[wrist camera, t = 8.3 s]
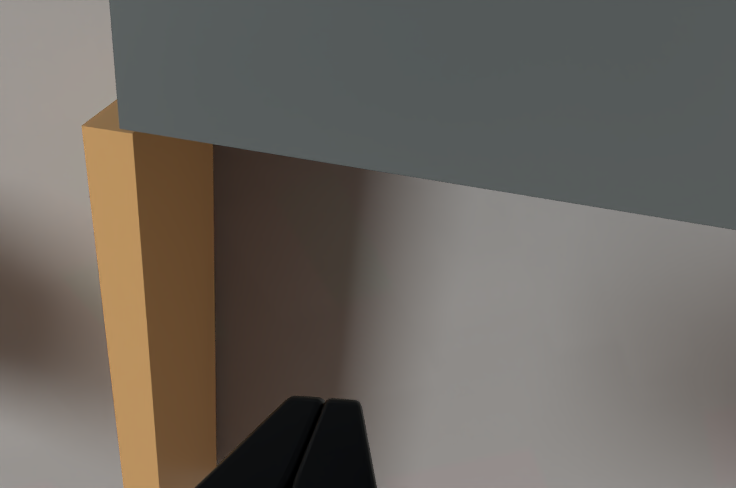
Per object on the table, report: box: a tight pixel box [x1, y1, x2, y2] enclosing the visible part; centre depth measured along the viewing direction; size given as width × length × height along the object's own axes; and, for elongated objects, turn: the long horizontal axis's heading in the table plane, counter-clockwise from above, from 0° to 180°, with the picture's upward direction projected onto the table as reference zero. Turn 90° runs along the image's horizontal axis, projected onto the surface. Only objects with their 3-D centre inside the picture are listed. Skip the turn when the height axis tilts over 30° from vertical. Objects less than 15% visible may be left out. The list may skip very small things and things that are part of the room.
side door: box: [82, 100, 216, 488], centre depth 19 cm, size 15×2×5 cm, turn 174°
